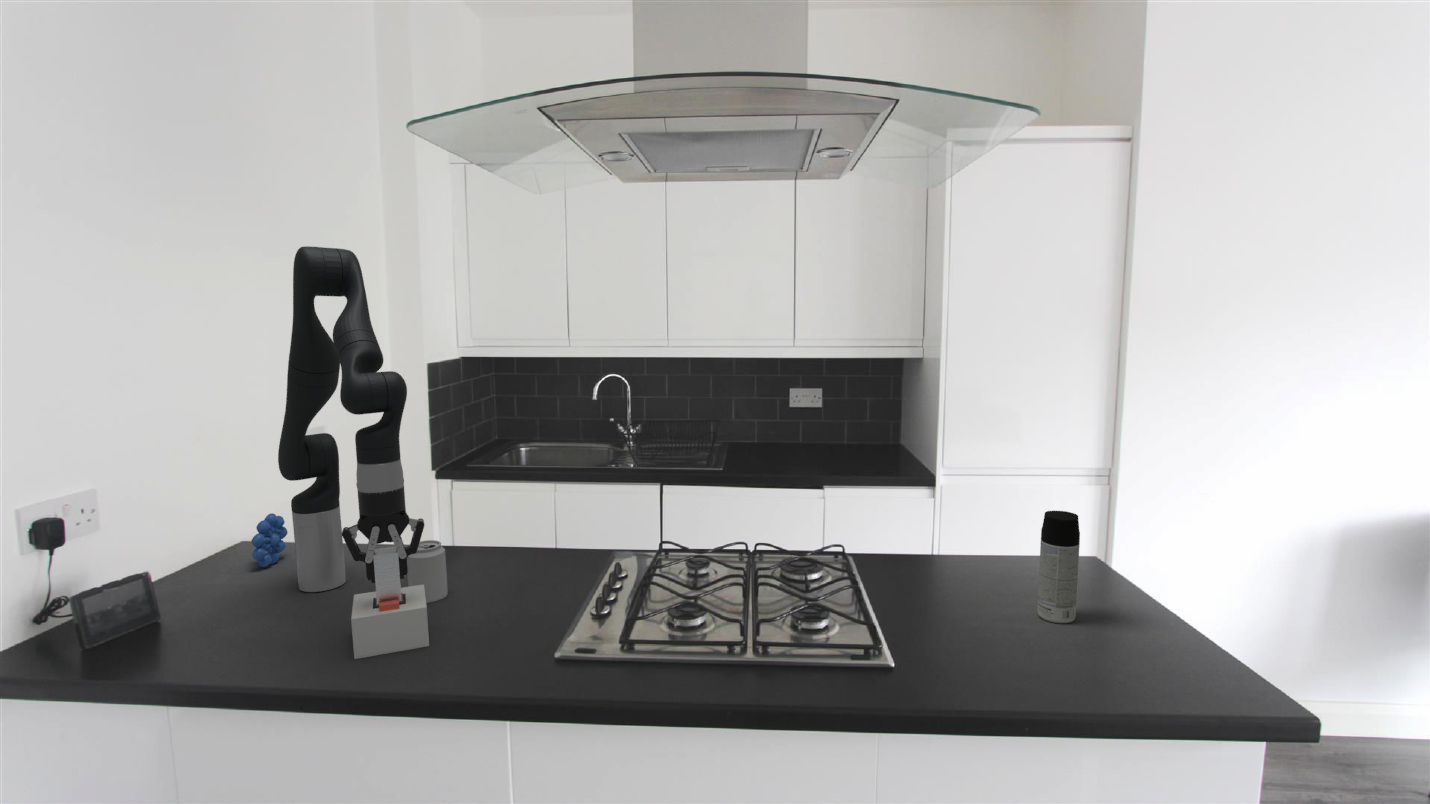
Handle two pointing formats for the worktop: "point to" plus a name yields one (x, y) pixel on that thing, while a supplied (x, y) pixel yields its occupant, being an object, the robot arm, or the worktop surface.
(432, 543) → the can
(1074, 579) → the spray can
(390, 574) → the column
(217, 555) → the worktop surface
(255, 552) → the grapes
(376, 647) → the stand base
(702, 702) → the worktop surface
